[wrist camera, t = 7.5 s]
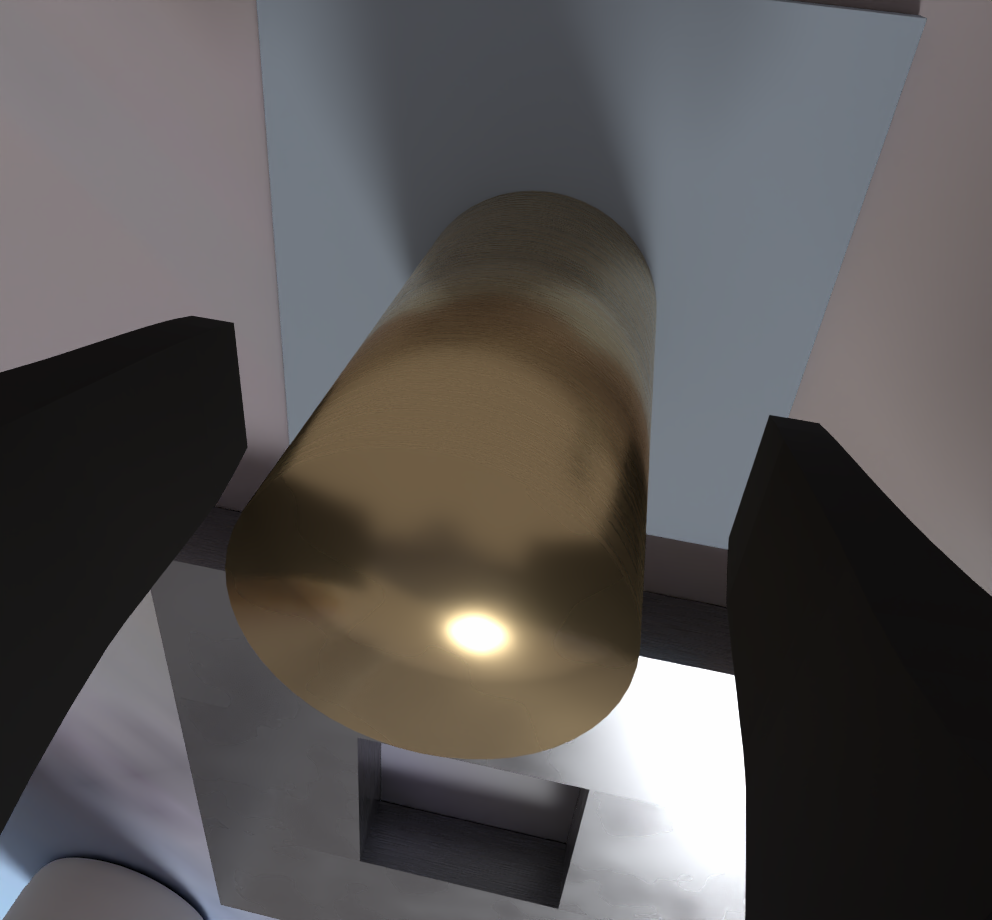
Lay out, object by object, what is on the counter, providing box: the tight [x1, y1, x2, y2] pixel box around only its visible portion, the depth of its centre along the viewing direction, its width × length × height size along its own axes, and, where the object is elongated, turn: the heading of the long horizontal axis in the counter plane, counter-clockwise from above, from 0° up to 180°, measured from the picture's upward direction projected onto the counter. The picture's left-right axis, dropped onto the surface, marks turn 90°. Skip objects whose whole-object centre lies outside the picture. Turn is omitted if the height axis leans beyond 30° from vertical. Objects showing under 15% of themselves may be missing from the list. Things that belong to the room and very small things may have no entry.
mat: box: [256, 0, 927, 550], centre depth 15 cm, size 10×10×1 cm
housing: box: [151, 507, 746, 920], centre depth 23 cm, size 16×16×2 cm
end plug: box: [225, 191, 657, 759], centre depth 12 cm, size 4×4×8 cm
